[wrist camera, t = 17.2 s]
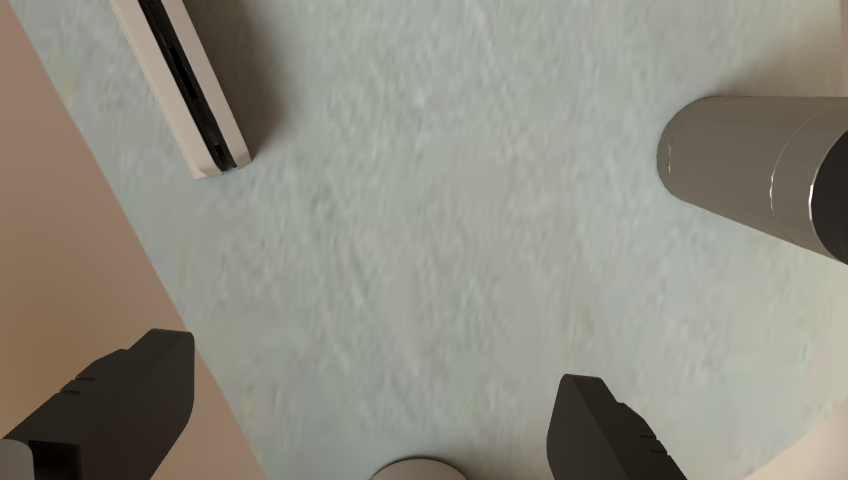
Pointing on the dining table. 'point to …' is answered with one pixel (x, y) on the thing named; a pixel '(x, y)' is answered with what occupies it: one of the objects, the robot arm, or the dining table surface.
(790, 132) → the robot arm
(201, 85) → the white striped curved block
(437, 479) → the cylinder vase
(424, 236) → the dining table surface
